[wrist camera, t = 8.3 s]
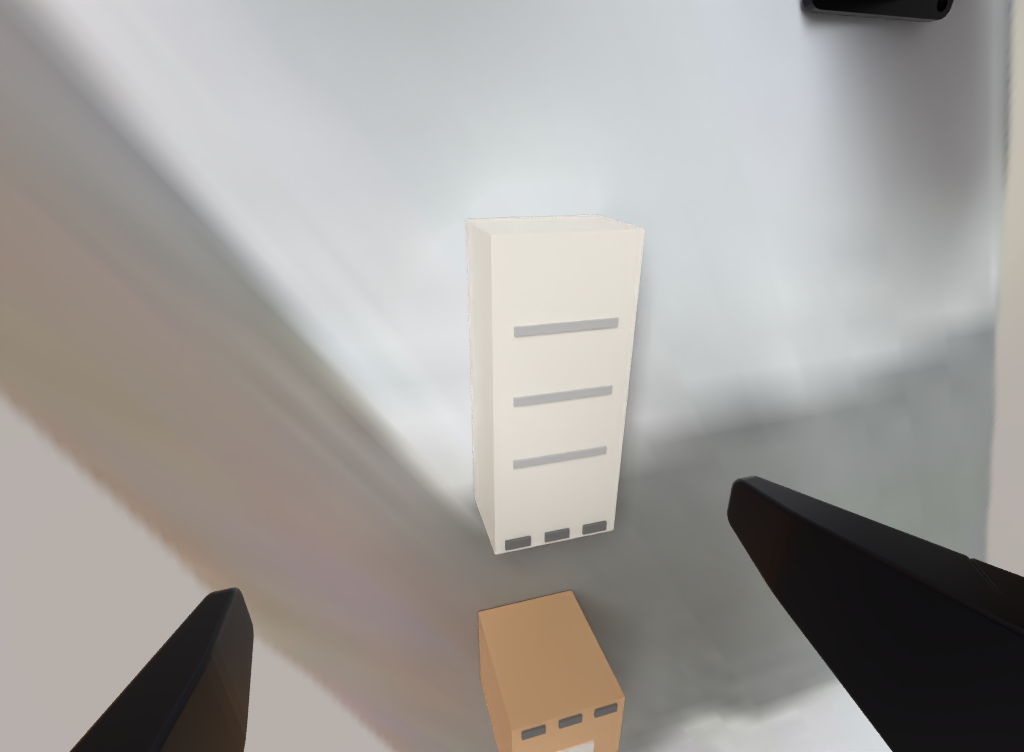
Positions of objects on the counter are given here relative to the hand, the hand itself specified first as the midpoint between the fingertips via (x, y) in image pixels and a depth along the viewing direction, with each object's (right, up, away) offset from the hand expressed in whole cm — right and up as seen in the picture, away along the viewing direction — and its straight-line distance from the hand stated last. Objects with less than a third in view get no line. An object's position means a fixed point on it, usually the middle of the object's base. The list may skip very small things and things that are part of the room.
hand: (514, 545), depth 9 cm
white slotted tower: (+1, +3, +12) cm, 13 cm away
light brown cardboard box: (+1, -11, +18) cm, 21 cm away
